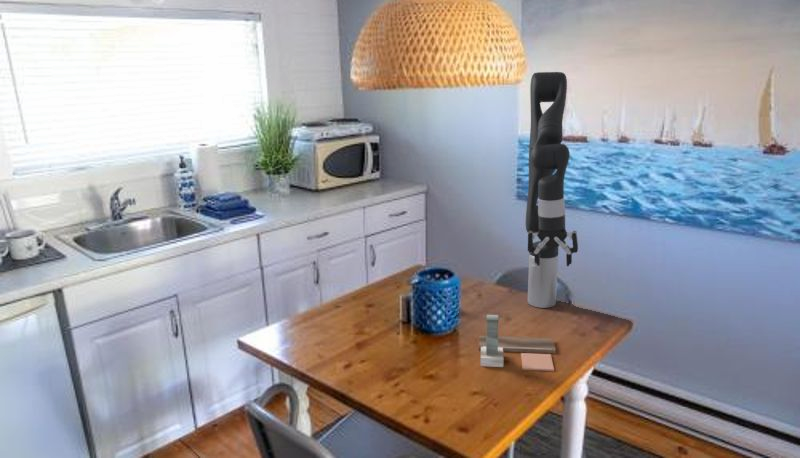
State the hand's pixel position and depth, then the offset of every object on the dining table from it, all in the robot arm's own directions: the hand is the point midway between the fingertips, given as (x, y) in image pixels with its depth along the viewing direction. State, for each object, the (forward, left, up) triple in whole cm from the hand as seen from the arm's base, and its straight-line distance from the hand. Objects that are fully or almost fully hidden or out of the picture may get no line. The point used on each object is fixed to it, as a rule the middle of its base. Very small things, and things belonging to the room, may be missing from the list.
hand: (553, 264), depth 169 cm
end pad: (+24, -6, -19) cm, 31 cm away
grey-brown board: (+15, -11, -19) cm, 27 cm away
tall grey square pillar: (+24, -18, -19) cm, 36 cm away
